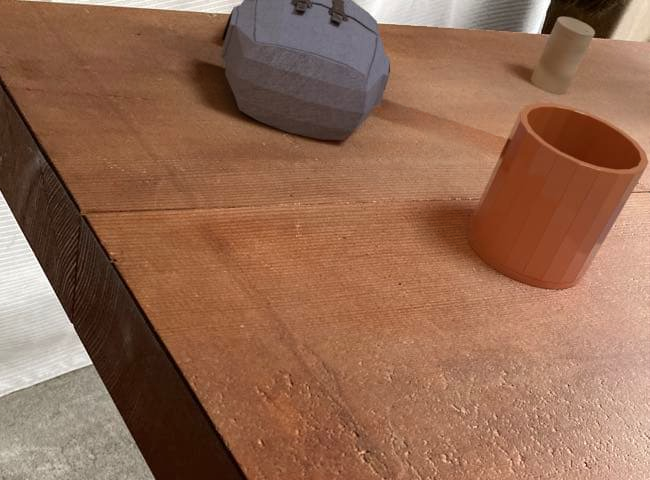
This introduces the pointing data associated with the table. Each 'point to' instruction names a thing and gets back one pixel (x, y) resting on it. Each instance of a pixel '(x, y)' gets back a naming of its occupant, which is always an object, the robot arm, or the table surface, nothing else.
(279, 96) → the small grey backpack
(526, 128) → the orange cup
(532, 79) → the birch peg
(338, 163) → the table surface
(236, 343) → the table surface
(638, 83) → the table surface
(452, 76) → the table surface
